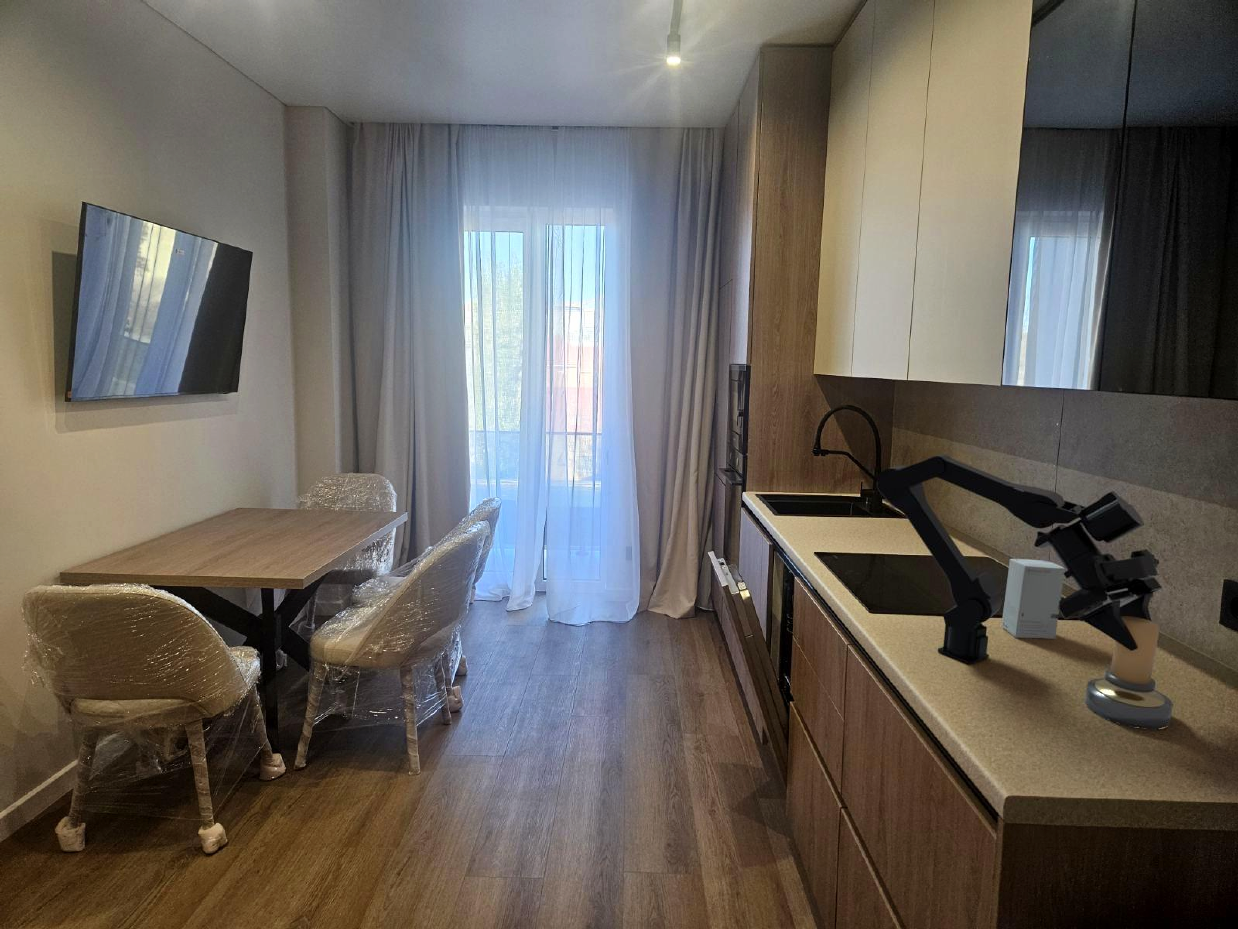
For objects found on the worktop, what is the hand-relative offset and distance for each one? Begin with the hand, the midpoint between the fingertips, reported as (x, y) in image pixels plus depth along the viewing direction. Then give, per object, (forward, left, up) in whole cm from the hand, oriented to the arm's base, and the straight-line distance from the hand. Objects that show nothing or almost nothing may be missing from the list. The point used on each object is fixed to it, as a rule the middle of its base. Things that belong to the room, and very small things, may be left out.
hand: (1145, 646), depth 110 cm
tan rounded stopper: (-1, 0, -7) cm, 7 cm away
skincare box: (-27, +19, -12) cm, 35 cm away
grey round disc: (-1, 0, -11) cm, 11 cm away
